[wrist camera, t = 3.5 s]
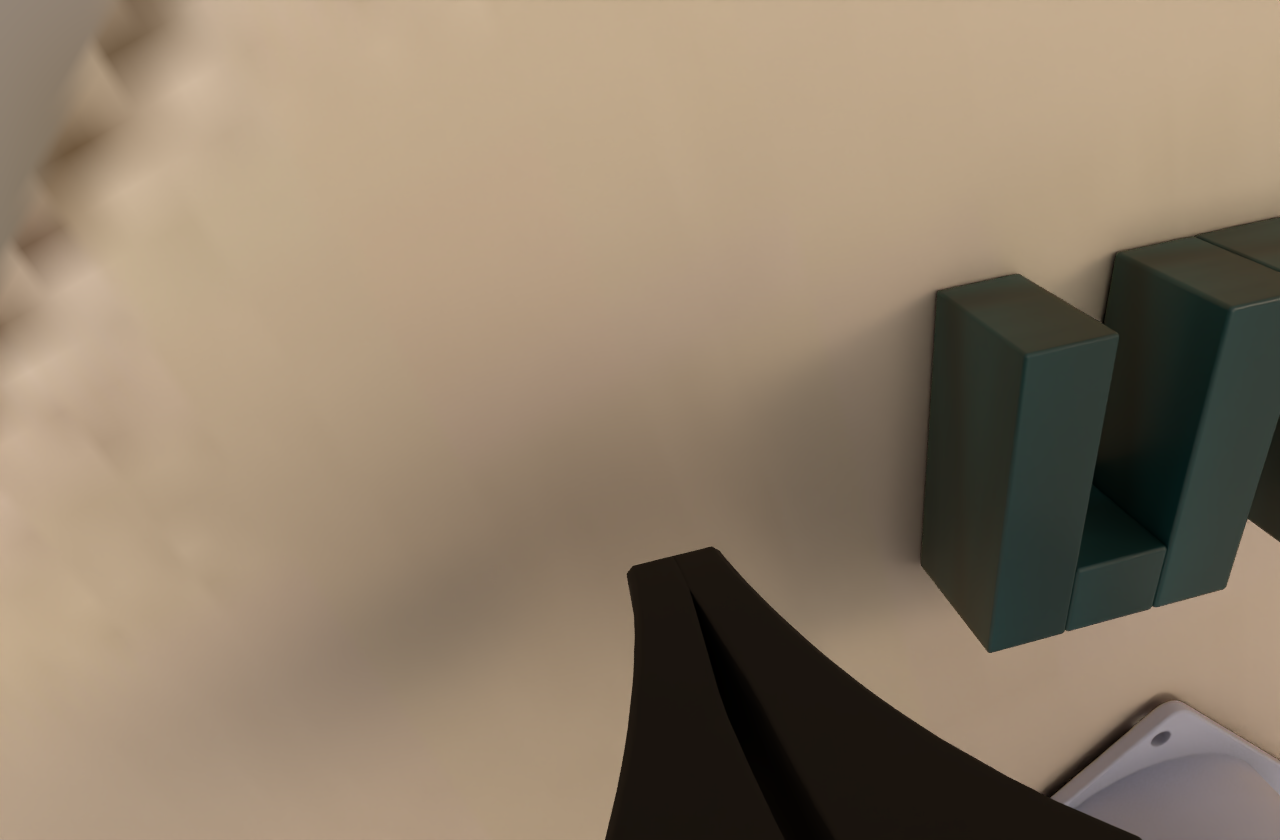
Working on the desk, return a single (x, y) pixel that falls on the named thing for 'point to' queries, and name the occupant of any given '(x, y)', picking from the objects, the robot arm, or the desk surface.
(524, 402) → the desk surface
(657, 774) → the robot arm
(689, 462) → the desk surface
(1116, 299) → the letter S
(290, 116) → the desk surface
